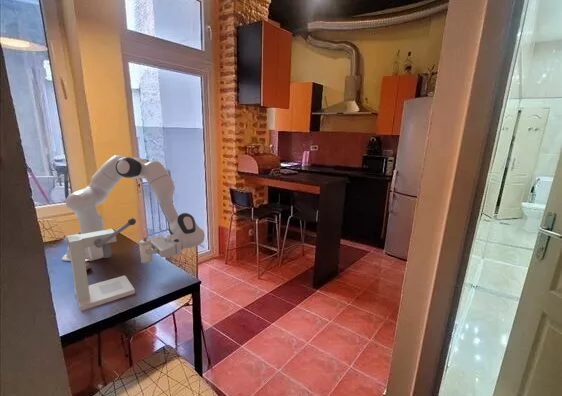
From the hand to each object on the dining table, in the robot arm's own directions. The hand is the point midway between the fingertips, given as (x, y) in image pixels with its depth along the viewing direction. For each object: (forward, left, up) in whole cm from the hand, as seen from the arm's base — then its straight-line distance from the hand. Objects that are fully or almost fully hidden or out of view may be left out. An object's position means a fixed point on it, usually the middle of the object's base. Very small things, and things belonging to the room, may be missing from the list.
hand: (143, 250), depth 133 cm
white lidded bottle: (+1, +1, -5) cm, 6 cm away
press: (-12, -8, -16) cm, 22 cm away
